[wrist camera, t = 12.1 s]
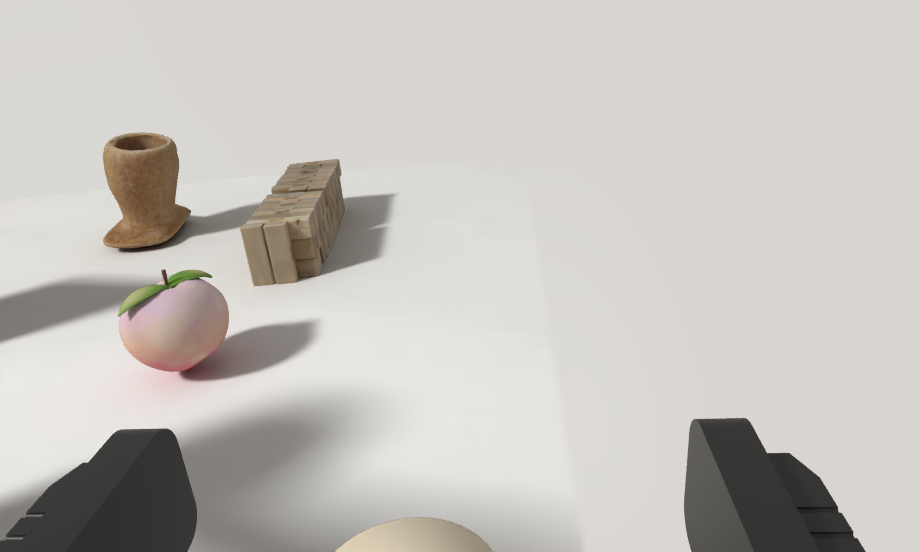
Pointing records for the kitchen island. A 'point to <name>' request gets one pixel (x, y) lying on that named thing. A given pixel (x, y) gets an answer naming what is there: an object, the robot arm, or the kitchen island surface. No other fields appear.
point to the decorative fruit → (174, 321)
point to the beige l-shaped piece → (416, 537)
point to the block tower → (295, 224)
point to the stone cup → (143, 189)
